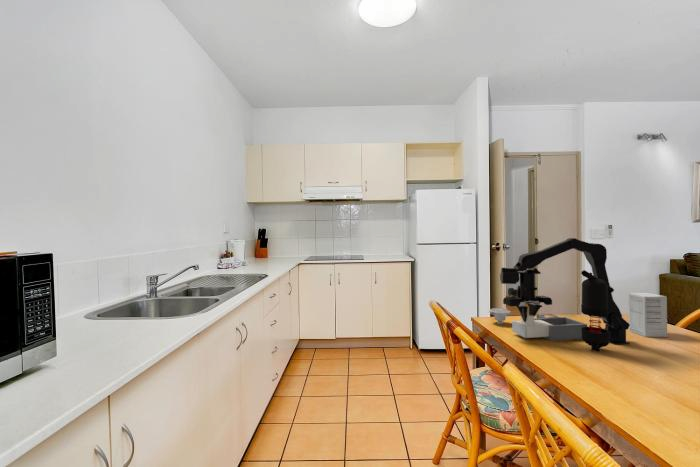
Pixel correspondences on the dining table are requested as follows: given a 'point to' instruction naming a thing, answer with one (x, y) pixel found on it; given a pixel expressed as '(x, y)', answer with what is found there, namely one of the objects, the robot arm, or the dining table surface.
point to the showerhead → (499, 314)
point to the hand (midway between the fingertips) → (527, 321)
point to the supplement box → (647, 314)
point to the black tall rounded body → (595, 310)
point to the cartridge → (531, 327)
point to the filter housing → (562, 327)
